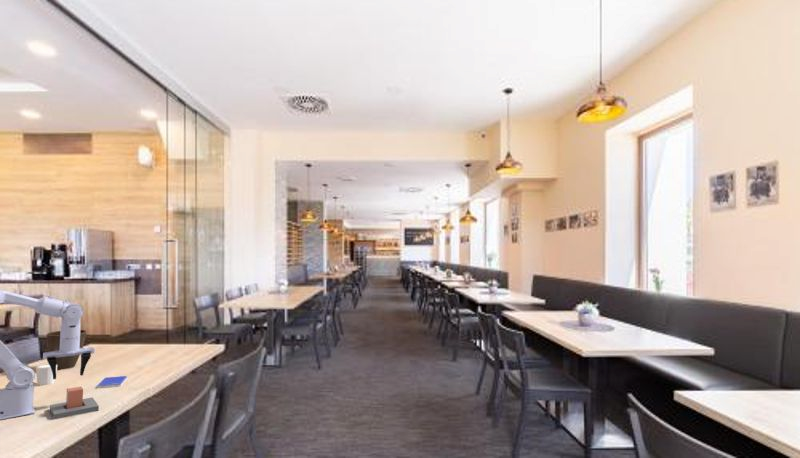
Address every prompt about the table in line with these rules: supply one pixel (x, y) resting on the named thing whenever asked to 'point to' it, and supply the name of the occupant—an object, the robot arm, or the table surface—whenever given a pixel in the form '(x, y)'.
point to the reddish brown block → (74, 397)
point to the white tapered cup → (45, 375)
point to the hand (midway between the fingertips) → (68, 376)
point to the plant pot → (54, 344)
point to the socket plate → (61, 411)
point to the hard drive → (112, 382)
